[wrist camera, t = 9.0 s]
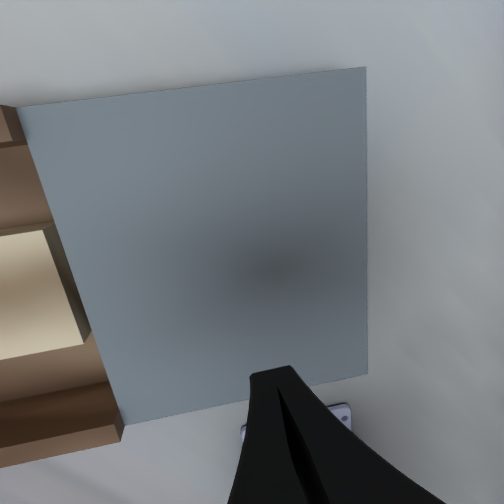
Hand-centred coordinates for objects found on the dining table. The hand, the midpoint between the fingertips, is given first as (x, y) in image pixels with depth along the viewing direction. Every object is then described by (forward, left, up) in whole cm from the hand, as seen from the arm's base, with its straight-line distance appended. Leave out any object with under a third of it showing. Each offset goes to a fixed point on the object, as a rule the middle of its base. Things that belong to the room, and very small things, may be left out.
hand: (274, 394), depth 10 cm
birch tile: (+2, +11, -9) cm, 14 cm away
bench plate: (+2, +1, -9) cm, 10 cm away
